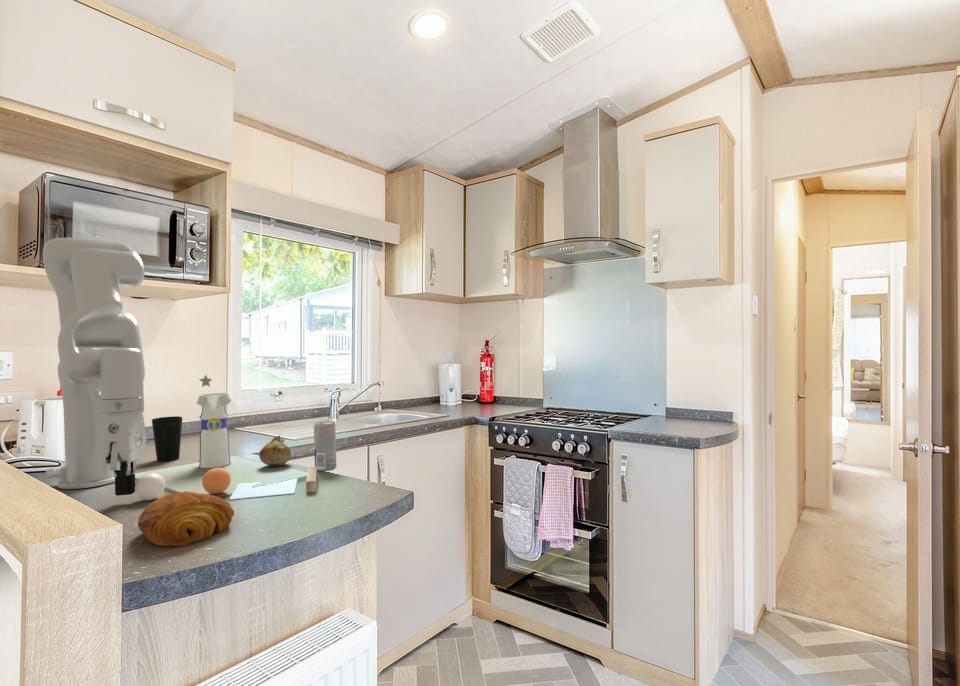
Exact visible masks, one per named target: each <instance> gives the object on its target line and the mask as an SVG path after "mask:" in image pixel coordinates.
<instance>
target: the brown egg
mask: <svg viewBox="0 0 960 686" xmlns="http://www.w3.org/2000/svg"><path fill="white" fill-rule="evenodd" d="M201 484H202V487H203V489H204V491H205V492H206V493H208V494H210V495H220V494H221V493H224V492H225V491H226V490H227V489H228V488H229V486H230V485H231V474H230V473H229V472H228V470H226V469H224V468H223V467H215V468H210V469H209V470H208V471H206V472H205V474H204V475H203V477H202V483H201Z"/></svg>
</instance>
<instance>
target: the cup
mask: <svg viewBox="0 0 960 686" xmlns="http://www.w3.org/2000/svg"><path fill="white" fill-rule="evenodd" d="M151 425H152V432H153V438H154V439H153V440H154V447H155V455H156V461H157V462H159V463H162V462H163V463H166V462H173V461H177V460H179V459H180V453H181V439H182V429H183V427H182V426H183V416H178V415H176V416H163V417H156V418H152V419H151Z"/></svg>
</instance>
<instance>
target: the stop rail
mask: <svg viewBox="0 0 960 686" xmlns="http://www.w3.org/2000/svg"><path fill="white" fill-rule="evenodd" d="M317 483H318V471H317V467H315V466H311V467H307V474H306V482H305V487H306V491H305V492H306V494H315V493H317V485H318V484H317Z"/></svg>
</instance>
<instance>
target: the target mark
mask: <svg viewBox="0 0 960 686" xmlns="http://www.w3.org/2000/svg"><path fill="white" fill-rule="evenodd" d="M286 480H287V479H286ZM298 481H299V480H298V478H291V480H287V481H283V482H278V483H273V484H268V485H265V486H259V487H255V488H252V486H254V485H256V484H258V483H259V484H260V482H261V481H256V482H245V483H242V482H241V483H238V484H237V486H236V488H235V489H234V490H233V492H232V493H231V496H229V499H228V500H229V501H234V500H244V499H255V498H256V499H257V498H265V497H266V498H267V497H277V496H287V495H294V494H295V492H296V489H297V484H298Z"/></svg>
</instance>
